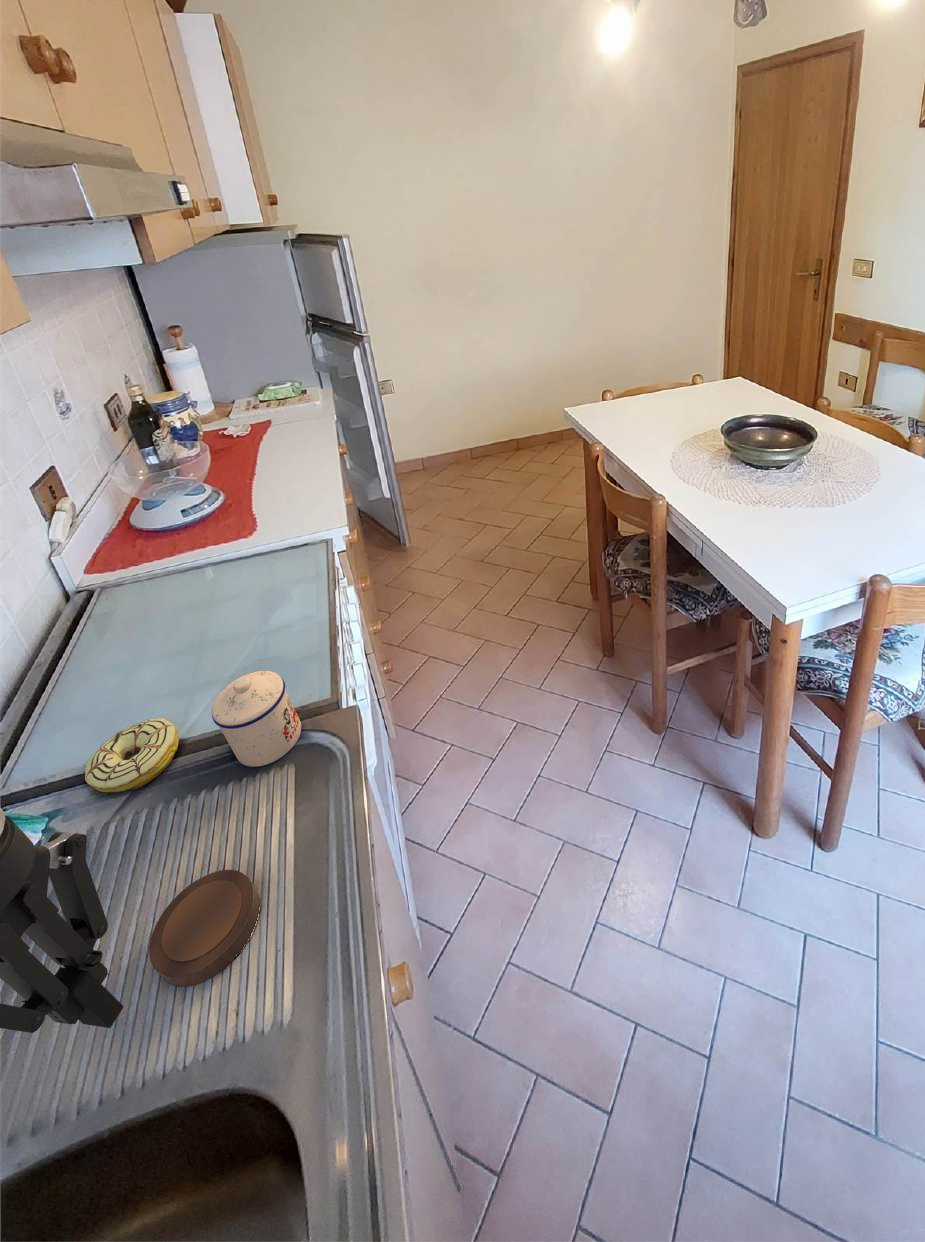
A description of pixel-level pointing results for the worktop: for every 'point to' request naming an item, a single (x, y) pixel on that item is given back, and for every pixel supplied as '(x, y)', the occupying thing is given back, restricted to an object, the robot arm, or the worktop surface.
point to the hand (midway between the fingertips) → (103, 1015)
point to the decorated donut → (120, 774)
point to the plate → (204, 928)
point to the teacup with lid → (257, 718)
